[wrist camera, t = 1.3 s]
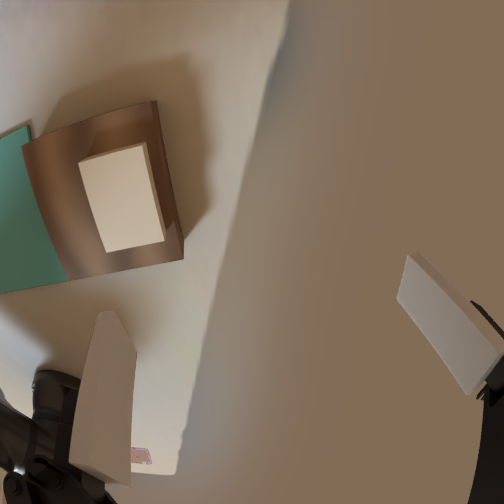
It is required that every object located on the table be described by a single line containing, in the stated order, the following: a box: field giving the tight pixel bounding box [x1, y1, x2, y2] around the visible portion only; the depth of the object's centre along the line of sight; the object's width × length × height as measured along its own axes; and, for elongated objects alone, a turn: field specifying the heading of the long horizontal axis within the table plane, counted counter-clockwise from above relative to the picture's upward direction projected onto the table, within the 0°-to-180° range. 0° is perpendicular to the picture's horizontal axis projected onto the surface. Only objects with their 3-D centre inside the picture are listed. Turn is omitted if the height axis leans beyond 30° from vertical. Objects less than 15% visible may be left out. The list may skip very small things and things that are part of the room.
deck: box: [21, 101, 184, 281], centre depth 26 cm, size 14×16×4 cm
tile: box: [78, 142, 166, 253], centre depth 24 cm, size 6×9×2 cm, turn 6°
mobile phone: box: [131, 448, 152, 464], centre depth 64 cm, size 8×1×15 cm
